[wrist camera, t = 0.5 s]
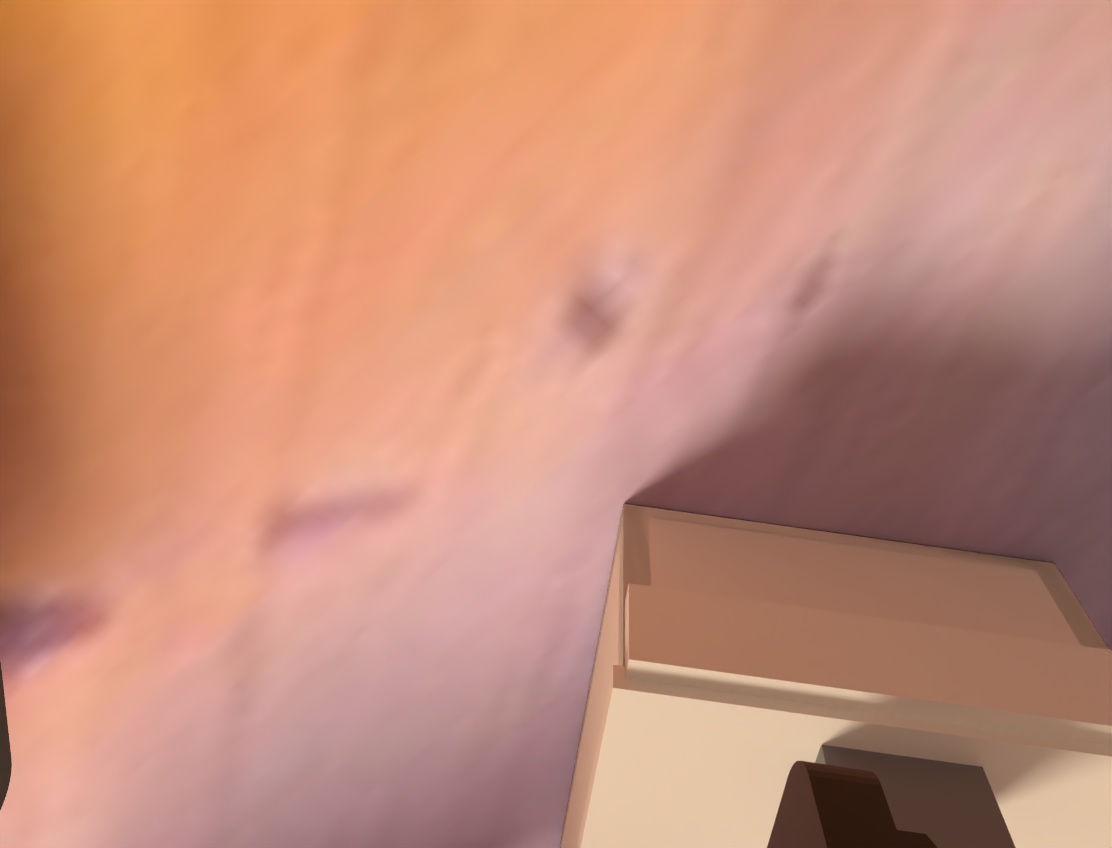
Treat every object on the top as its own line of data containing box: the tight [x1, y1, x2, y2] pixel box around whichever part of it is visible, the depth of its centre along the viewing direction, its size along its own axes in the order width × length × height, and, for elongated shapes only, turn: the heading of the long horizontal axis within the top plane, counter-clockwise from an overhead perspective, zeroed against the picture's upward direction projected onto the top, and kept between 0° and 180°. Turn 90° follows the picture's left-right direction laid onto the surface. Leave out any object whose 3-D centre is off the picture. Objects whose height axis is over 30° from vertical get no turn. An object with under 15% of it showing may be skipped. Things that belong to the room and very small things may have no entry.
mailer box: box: [560, 504, 1109, 848], centre depth 33 cm, size 18×14×8 cm
